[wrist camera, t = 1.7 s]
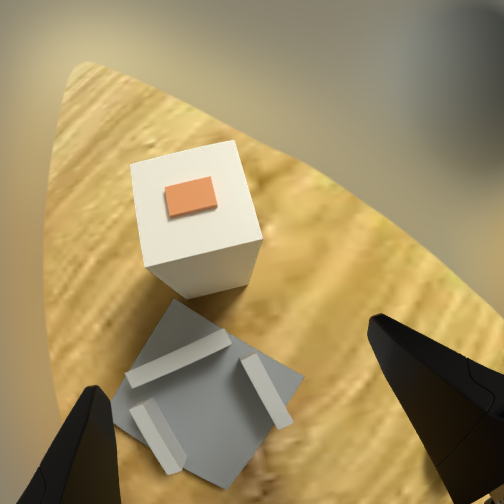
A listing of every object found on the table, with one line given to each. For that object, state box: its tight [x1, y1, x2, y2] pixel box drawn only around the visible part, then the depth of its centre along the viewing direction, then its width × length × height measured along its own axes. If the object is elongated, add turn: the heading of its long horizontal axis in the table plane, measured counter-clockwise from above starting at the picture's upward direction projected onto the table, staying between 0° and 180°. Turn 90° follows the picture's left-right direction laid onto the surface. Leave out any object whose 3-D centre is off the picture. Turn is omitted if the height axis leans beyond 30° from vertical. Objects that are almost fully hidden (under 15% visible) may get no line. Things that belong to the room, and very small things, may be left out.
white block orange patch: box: [130, 140, 263, 300], centre depth 17 cm, size 4×4×11 cm
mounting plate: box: [111, 298, 304, 490], centre depth 18 cm, size 10×10×4 cm
